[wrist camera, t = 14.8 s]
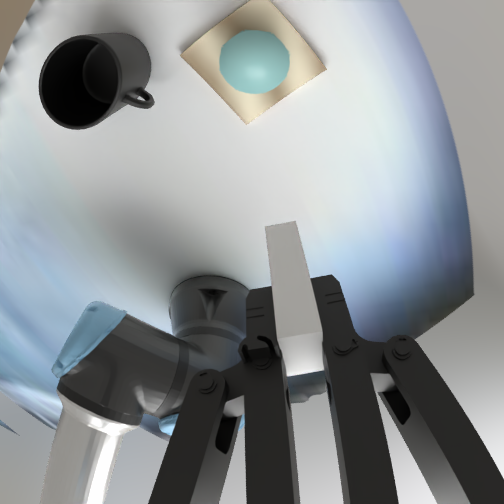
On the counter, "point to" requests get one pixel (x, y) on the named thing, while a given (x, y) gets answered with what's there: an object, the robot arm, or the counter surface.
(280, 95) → the post block
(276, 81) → the cap
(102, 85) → the mug
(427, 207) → the counter surface
